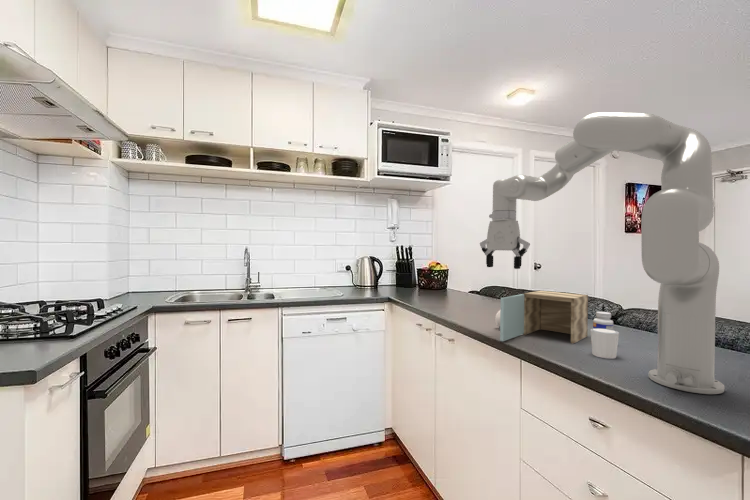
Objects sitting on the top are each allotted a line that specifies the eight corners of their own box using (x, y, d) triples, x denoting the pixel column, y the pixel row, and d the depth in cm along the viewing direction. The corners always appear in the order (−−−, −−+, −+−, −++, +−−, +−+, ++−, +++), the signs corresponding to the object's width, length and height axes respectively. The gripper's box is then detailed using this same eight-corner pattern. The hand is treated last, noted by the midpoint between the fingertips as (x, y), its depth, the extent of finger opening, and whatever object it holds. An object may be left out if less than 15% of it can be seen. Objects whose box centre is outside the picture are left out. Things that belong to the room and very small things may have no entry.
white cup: (624, 357, 97) (625, 332, 97) (607, 360, 94) (608, 334, 94) (600, 350, 103) (601, 327, 103) (584, 353, 101) (584, 328, 101)
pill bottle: (588, 341, 114) (589, 311, 114) (601, 340, 115) (601, 310, 115) (604, 346, 108) (604, 314, 108) (617, 344, 110) (617, 313, 110)
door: (495, 339, 112) (496, 297, 112) (517, 332, 123) (517, 293, 123) (503, 341, 111) (503, 298, 111) (523, 333, 121) (524, 294, 121)
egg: (491, 329, 130) (492, 308, 130) (500, 327, 134) (500, 307, 134) (507, 332, 125) (507, 310, 125) (515, 329, 129) (516, 309, 129)
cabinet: (573, 343, 111) (574, 298, 111) (523, 334, 122) (523, 293, 122) (587, 336, 120) (587, 294, 120) (539, 328, 132) (539, 290, 132)
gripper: (475, 217, 122) (474, 266, 122) (524, 214, 109) (523, 269, 110) (486, 218, 127) (485, 266, 127) (535, 216, 115) (533, 269, 115)
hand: (503, 267), depth 119 cm, fingers open, 9 cm apart
